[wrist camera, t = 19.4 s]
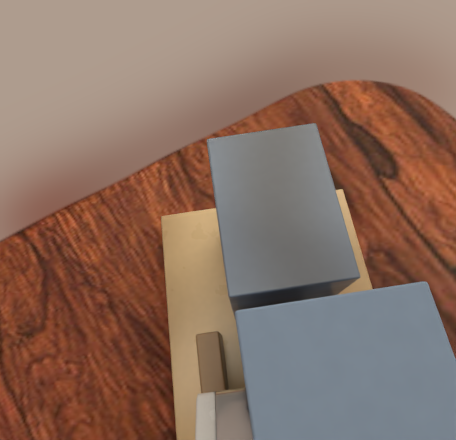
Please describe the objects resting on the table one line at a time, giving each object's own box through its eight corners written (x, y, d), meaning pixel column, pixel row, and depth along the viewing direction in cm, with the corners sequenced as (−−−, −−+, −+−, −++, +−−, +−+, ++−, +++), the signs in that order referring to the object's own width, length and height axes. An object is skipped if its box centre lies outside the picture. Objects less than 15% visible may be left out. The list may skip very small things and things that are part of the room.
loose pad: (263, 473, 14) (294, 721, 4) (243, 340, 15) (234, 310, 6) (352, 460, 14) (574, 677, 4) (321, 328, 15) (427, 280, 6)
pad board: (192, 557, 14) (105, 864, 6) (166, 225, 20) (103, 121, 11) (428, 521, 14) (709, 769, 6) (336, 200, 20) (405, 76, 11)
